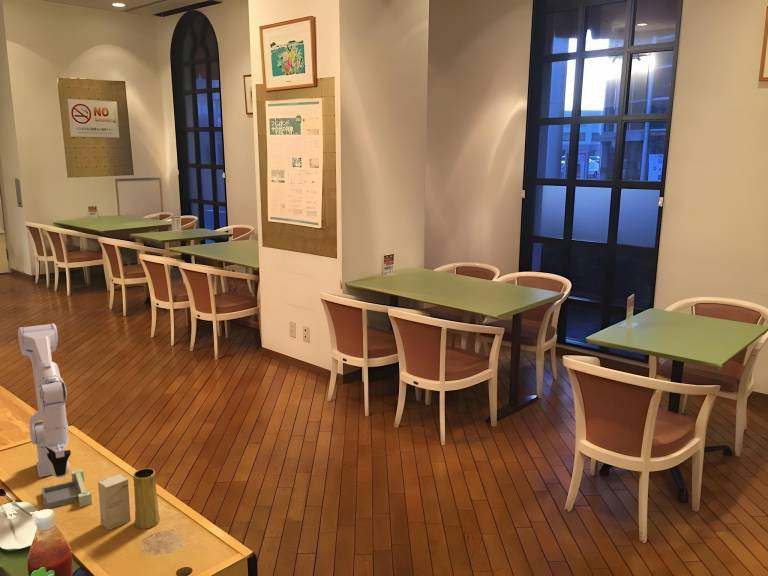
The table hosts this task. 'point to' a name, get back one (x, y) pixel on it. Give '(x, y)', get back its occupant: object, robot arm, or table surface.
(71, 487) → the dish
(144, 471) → the vase
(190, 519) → the table surface
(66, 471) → the ball
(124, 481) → the skincare box
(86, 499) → the rail
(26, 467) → the table surface
